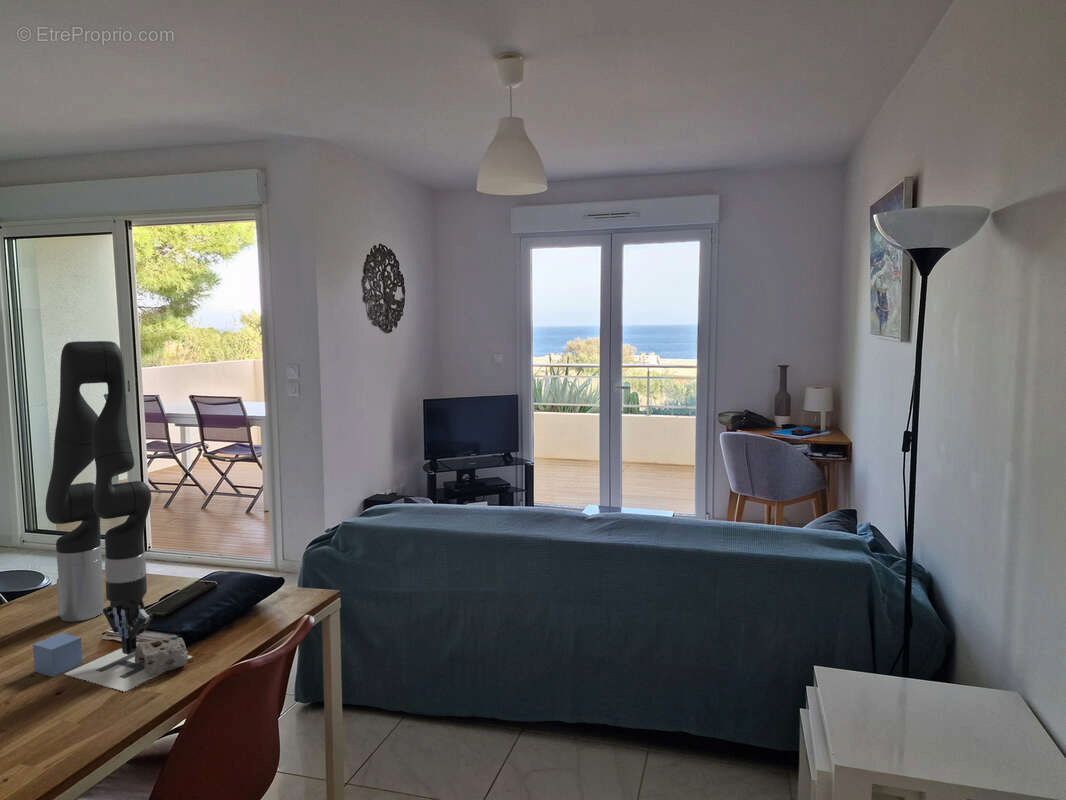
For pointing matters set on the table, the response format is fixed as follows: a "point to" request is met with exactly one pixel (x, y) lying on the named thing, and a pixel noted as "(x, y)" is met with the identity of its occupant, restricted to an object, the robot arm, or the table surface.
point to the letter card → (114, 671)
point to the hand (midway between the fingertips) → (129, 652)
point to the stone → (161, 654)
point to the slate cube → (57, 654)
